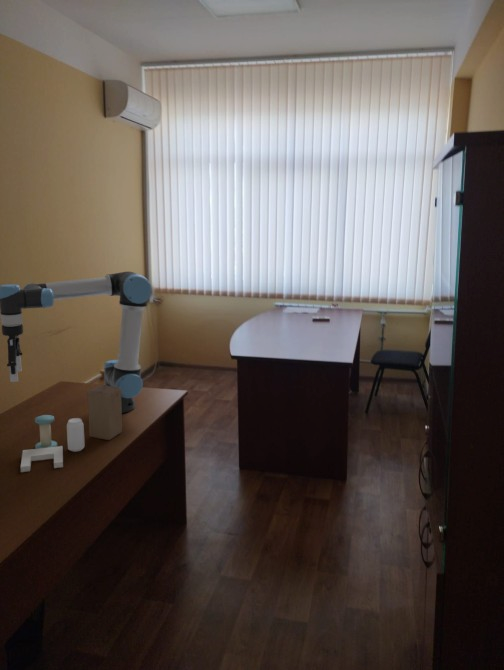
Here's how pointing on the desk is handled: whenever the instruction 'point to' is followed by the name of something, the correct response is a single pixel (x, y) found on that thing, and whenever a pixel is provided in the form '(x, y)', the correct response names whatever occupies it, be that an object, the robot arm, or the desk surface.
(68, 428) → the beverage can
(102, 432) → the wooden block
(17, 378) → the robot arm
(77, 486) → the desk surface
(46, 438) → the bobbin
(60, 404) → the desk surface
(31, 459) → the u-shaped block
